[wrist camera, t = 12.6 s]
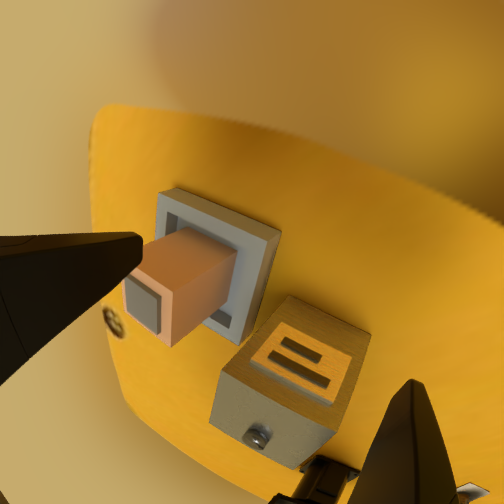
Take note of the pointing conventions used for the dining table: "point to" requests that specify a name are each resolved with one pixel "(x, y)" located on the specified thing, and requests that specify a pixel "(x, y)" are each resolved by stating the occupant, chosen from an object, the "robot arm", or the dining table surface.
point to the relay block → (178, 283)
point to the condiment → (470, 493)
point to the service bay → (232, 235)
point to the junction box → (290, 383)
